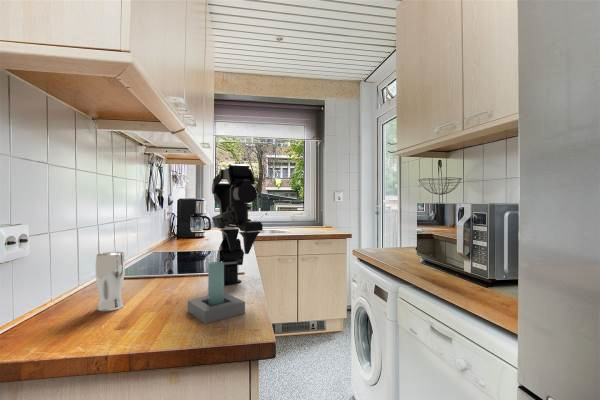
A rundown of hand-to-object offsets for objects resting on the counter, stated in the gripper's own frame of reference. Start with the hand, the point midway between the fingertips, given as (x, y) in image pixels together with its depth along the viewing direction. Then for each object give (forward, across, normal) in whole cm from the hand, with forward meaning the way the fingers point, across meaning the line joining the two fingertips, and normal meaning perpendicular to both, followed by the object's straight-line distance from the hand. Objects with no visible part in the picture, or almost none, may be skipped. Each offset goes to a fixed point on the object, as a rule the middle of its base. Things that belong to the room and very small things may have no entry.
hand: (239, 252), depth 102 cm
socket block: (+13, +11, -14) cm, 22 cm away
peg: (+13, +11, -13) cm, 22 cm away
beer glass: (+13, -11, -34) cm, 38 cm away
